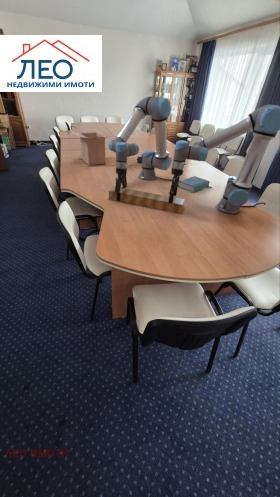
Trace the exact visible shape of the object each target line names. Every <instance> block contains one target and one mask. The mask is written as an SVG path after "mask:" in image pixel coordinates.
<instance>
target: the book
mask: <svg viewBox="0 0 280 497" xmlns="http://www.w3.org/2000/svg"><path fill="white" fill-rule="evenodd" d="M210 183H211V182H210V180H207V179H204V178H202V177H199V176H196V175H193V176H191V177H188V178H184V179H182V180H179V187H178V188H181V189H183V190H186V191H188V192H191V193H195V192H198V191H200V190H203V189H205V188H208V187H207V186H210Z"/></svg>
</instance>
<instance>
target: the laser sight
mask: <svg viewBox="0 0 280 497" xmlns="http://www.w3.org/2000/svg"><path fill="white" fill-rule="evenodd" d="M142 156H143V153H141V156H137V158H136V161H137V162H136V163H140V164H142V158H143V157H142Z"/></svg>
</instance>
